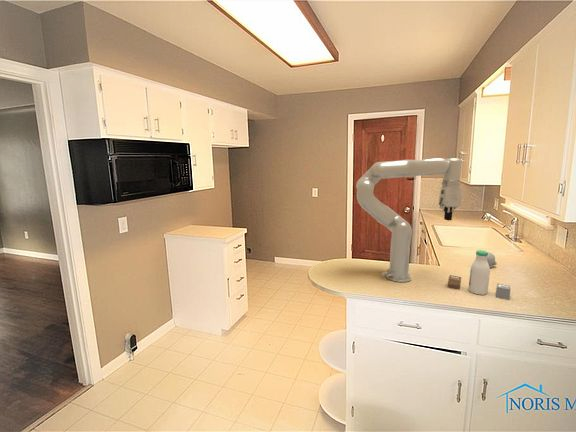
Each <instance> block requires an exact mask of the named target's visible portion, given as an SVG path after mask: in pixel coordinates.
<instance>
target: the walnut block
mask: <svg viewBox="0 0 576 432" xmlns="http://www.w3.org/2000/svg"><path fill="white" fill-rule="evenodd" d="M461 283H462V276H457V275H452V274H449V276H448V280H447V289H453V290H458V291H460V289H461Z"/></svg>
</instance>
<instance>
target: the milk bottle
mask: <svg viewBox="0 0 576 432" xmlns="http://www.w3.org/2000/svg"><path fill="white" fill-rule="evenodd" d="M488 252H489V251H486V250H482V249H479V250H476V252H475V256H476V257H475V259H474V260H473V262H472V263H471V266H470V272H469V278H468V279H469V282H468V291H469V292H470V293H472V294H475V295H483V296H485V295H487V294H488V291H489V281H490V276H491V275H490V273H491V271H490V270H491V268H490V267H489V264H488V262H487V257H488Z"/></svg>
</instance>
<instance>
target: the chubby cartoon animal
mask: <svg viewBox="0 0 576 432" xmlns="http://www.w3.org/2000/svg"><path fill="white" fill-rule="evenodd" d="M487 252H488V257H487V262H488V264H489V267H490V269H492V268H494V266H496V265H497V264H498V263H497V261H496V257H495V254H494V253H493V252H489V251H487Z"/></svg>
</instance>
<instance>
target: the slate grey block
mask: <svg viewBox="0 0 576 432" xmlns="http://www.w3.org/2000/svg"><path fill="white" fill-rule="evenodd" d="M510 297H511V285H508V284H503V283H498V282H497V283H496V289H495V298H499V299H503V300H506V301H507V300H510Z"/></svg>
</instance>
